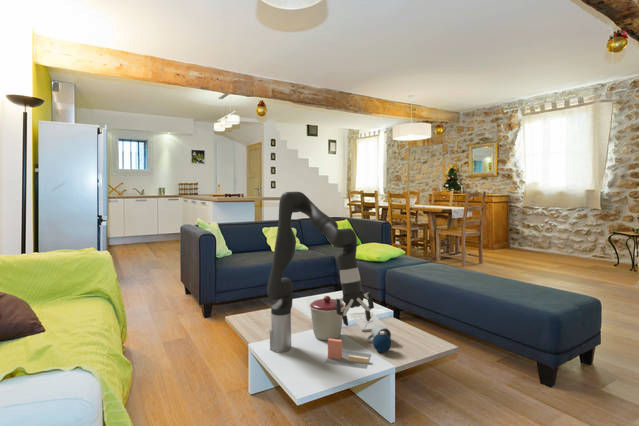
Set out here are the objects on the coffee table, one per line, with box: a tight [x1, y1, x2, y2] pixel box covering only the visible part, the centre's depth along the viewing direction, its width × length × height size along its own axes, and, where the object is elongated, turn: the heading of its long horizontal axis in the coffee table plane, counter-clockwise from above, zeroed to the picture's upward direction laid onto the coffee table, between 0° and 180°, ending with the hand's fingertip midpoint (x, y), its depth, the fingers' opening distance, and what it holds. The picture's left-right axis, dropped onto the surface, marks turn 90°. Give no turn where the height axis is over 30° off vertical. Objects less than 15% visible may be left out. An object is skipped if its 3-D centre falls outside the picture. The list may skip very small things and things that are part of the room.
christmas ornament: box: [372, 331, 392, 353], centre depth 169 cm, size 8×8×10 cm
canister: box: [308, 295, 345, 342], centre depth 186 cm, size 18×18×21 cm
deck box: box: [327, 338, 343, 359], centre depth 162 cm, size 6×2×8 cm, turn 73°
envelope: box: [349, 311, 387, 333], centre depth 206 cm, size 24×2×14 cm
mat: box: [324, 349, 373, 370], centre depth 162 cm, size 18×14×2 cm
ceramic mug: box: [366, 325, 392, 344], centre depth 180 cm, size 11×8×8 cm
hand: (357, 323), depth 139 cm, fingers open, 8 cm apart
